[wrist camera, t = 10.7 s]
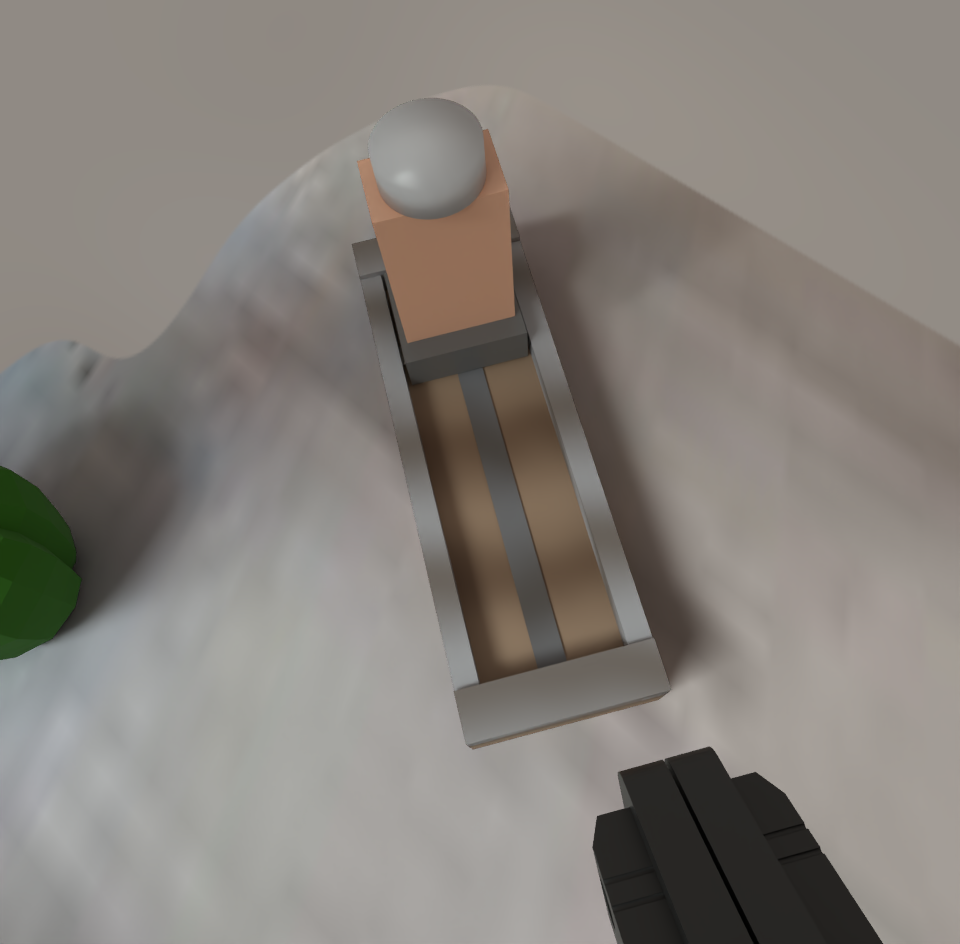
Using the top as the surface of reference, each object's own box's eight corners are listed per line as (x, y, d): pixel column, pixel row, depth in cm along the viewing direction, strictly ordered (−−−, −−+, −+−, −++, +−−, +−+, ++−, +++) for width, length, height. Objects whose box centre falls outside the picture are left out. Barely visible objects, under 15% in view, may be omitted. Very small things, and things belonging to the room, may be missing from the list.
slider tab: (527, 356, 37) (523, 176, 26) (412, 385, 37) (359, 216, 26) (501, 271, 39) (486, 71, 28) (391, 298, 38) (333, 108, 28)
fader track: (658, 699, 33) (671, 689, 29) (473, 749, 32) (465, 744, 29) (511, 250, 42) (509, 205, 39) (366, 286, 42) (351, 244, 38)
